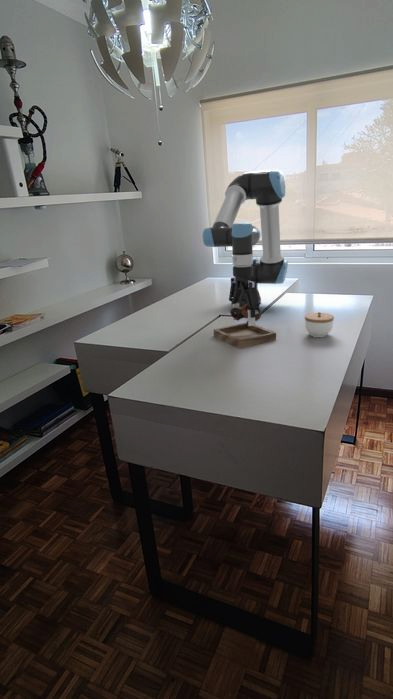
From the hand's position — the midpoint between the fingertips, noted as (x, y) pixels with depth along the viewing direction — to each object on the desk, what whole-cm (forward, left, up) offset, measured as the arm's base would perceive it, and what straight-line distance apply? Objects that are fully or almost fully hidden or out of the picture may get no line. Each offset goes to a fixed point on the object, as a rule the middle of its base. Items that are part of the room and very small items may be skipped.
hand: (243, 322), depth 165 cm
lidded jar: (+15, +25, -7) cm, 30 cm away
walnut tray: (0, 0, -6) cm, 6 cm away
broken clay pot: (-1, +1, -1) cm, 2 cm away
